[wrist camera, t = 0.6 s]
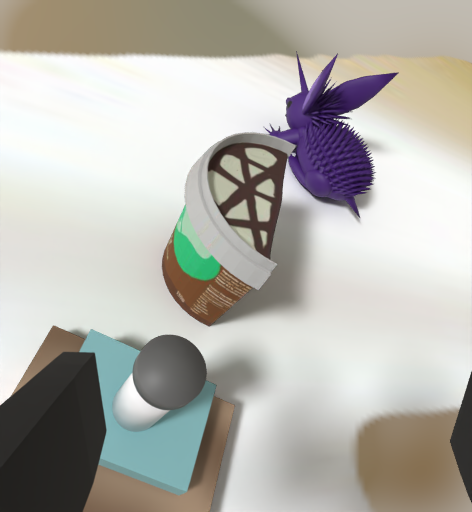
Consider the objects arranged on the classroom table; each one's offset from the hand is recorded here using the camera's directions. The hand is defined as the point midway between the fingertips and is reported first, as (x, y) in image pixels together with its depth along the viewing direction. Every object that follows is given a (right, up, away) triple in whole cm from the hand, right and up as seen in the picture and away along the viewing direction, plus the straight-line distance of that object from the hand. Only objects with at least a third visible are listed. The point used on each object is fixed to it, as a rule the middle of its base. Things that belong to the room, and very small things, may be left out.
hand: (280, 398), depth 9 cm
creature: (+7, +13, +41) cm, 44 cm away
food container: (-5, +2, +26) cm, 27 cm away
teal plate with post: (-7, -6, +16) cm, 19 cm away
